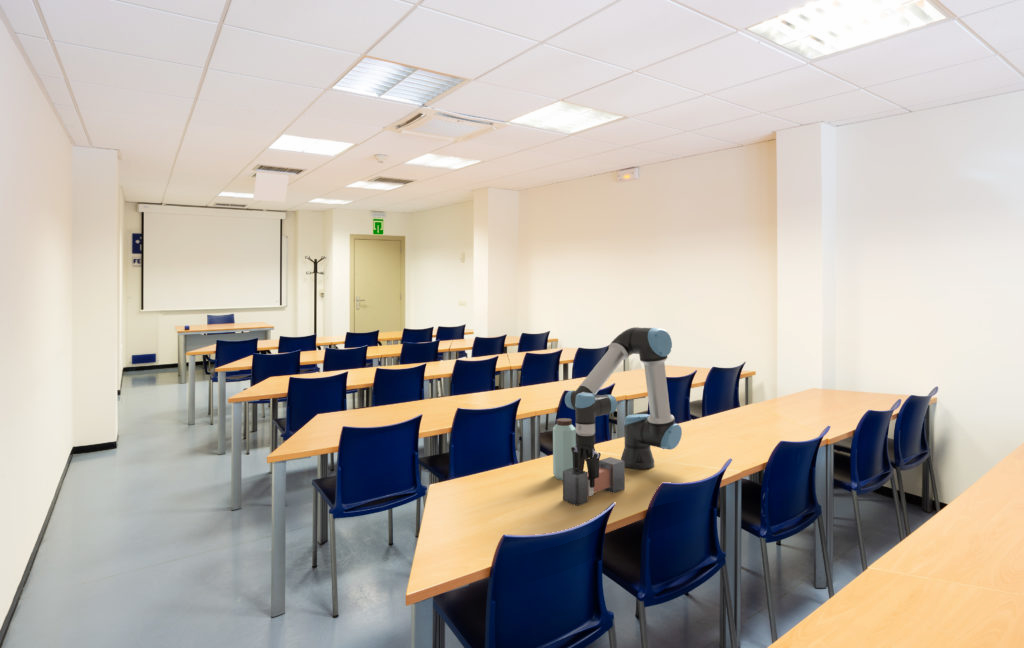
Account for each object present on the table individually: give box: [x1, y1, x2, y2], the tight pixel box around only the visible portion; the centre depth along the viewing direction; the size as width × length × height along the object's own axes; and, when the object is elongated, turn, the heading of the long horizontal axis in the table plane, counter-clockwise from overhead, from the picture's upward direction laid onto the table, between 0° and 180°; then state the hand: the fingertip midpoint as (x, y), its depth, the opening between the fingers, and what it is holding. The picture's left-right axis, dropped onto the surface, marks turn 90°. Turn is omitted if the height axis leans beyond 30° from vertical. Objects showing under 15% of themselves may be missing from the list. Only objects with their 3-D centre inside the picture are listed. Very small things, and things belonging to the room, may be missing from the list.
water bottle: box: [552, 417, 577, 481], centre depth 236 cm, size 10×10×25 cm
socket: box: [562, 468, 589, 506], centre depth 207 cm, size 6×7×12 cm
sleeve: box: [599, 456, 626, 494], centre depth 220 cm, size 7×7×12 cm
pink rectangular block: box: [586, 468, 610, 493], centre depth 213 cm, size 18×4×7 cm, turn 129°
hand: (585, 493), depth 211 cm, fingers closed on pink rectangular block, 4 cm apart
